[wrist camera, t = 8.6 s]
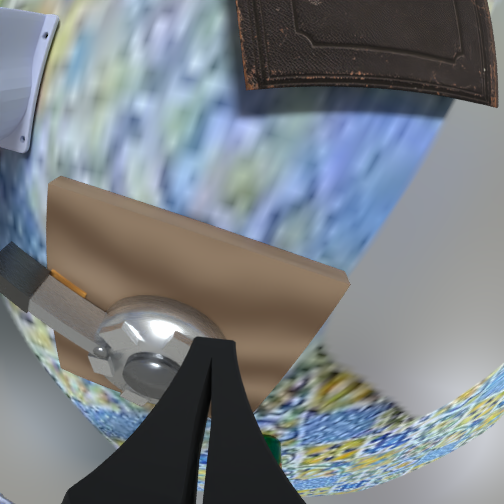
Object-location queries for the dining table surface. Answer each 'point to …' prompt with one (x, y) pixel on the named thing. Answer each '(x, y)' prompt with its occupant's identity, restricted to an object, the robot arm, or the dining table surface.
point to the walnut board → (187, 278)
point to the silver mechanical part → (110, 327)
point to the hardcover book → (371, 46)
